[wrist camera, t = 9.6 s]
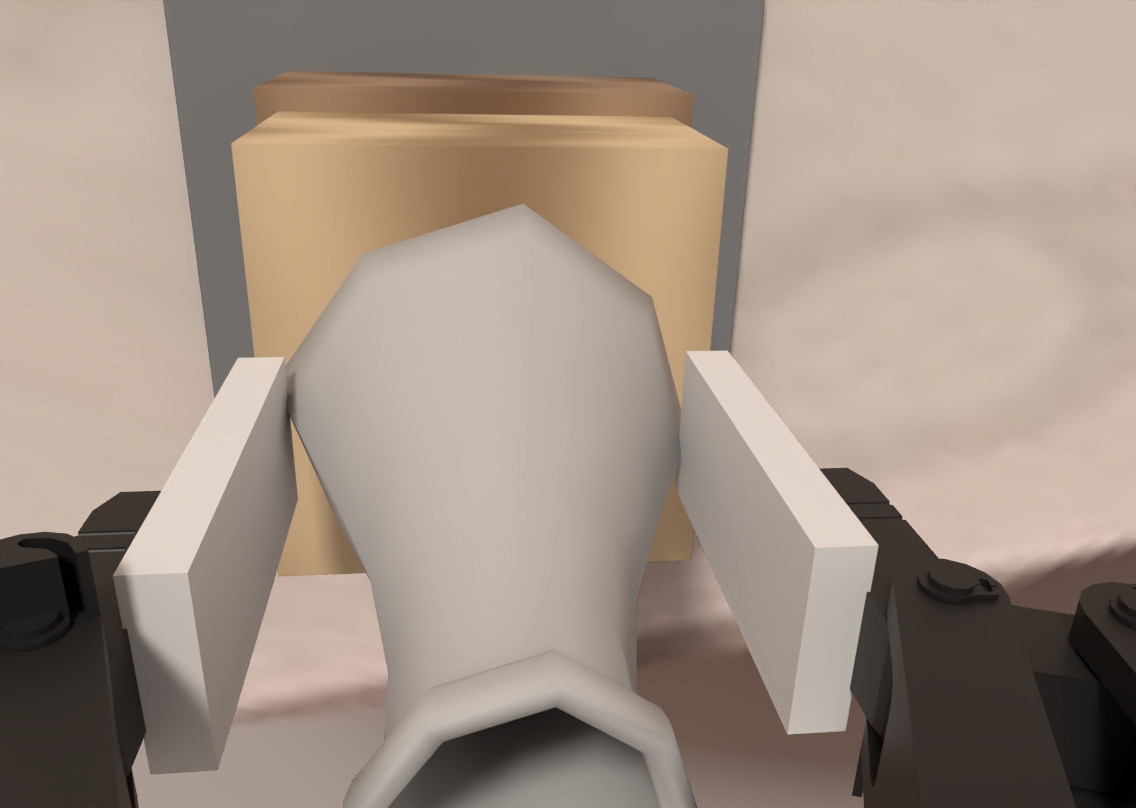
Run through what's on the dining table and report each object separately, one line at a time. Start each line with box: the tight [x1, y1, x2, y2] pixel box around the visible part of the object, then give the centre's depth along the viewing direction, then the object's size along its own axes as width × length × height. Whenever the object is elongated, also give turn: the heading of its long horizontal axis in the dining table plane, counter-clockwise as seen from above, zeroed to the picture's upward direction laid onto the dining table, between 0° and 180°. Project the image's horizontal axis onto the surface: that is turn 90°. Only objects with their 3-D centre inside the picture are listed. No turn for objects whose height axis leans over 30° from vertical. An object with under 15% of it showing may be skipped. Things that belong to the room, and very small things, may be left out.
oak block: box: [231, 111, 728, 576], centre depth 21 cm, size 9×9×5 cm
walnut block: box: [253, 71, 694, 128], centre depth 26 cm, size 10×10×5 cm
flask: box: [285, 204, 697, 808], centre depth 13 cm, size 7×7×10 cm
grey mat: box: [163, 0, 764, 398], centre depth 29 cm, size 16×16×1 cm
